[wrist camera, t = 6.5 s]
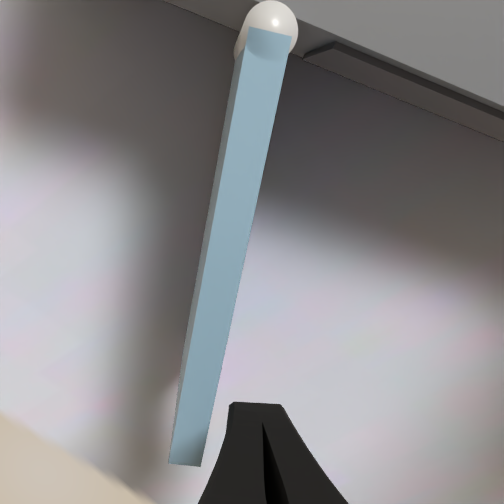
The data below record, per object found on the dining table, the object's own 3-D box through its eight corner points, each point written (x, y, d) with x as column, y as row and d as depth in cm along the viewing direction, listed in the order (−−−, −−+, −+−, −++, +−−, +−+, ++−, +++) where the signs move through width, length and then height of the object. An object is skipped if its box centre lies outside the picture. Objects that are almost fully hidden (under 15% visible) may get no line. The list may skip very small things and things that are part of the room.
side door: (208, 357, 16) (204, 467, 11) (179, 353, 16) (164, 462, 11) (272, 38, 13) (304, 8, 8) (237, 29, 13) (249, -6, 8)
